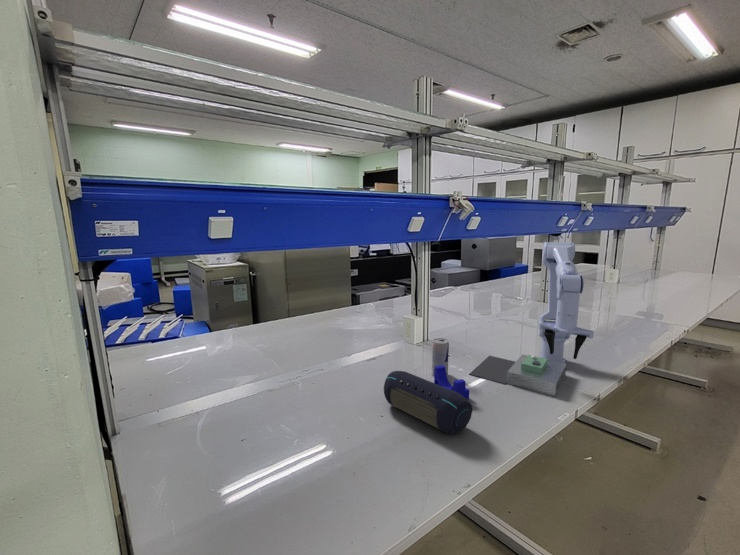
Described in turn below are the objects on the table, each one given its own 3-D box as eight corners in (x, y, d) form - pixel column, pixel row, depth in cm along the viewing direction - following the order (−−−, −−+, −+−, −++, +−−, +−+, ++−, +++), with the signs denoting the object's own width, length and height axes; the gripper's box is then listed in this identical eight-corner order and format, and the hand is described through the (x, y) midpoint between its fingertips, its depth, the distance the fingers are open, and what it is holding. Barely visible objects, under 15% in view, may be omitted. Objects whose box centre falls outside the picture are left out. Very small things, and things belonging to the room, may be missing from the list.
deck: (521, 364, 126) (522, 354, 125) (565, 375, 118) (566, 364, 117) (506, 383, 112) (507, 371, 111) (554, 396, 104) (556, 384, 103)
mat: (489, 356, 134) (489, 355, 134) (522, 363, 127) (522, 363, 127) (469, 374, 119) (469, 373, 118) (505, 384, 111) (505, 383, 111)
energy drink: (449, 373, 120) (451, 339, 118) (444, 379, 115) (445, 344, 113) (434, 370, 122) (435, 337, 120) (429, 375, 118) (430, 341, 116)
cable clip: (468, 399, 103) (469, 380, 102) (455, 402, 101) (456, 382, 100) (446, 381, 114) (446, 364, 113) (434, 384, 112) (434, 366, 111)
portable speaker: (377, 406, 99) (377, 373, 97) (400, 394, 106) (400, 362, 104) (453, 446, 81) (455, 407, 80) (475, 429, 88) (477, 392, 87)
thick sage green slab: (528, 360, 120) (528, 352, 120) (547, 364, 117) (547, 357, 116) (520, 369, 113) (521, 361, 113) (541, 374, 110) (541, 366, 109)
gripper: (538, 312, 108) (535, 354, 110) (593, 320, 99) (588, 365, 102) (543, 307, 114) (540, 347, 116) (596, 315, 105) (591, 357, 107)
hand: (563, 355), depth 109 cm, fingers open, 6 cm apart
